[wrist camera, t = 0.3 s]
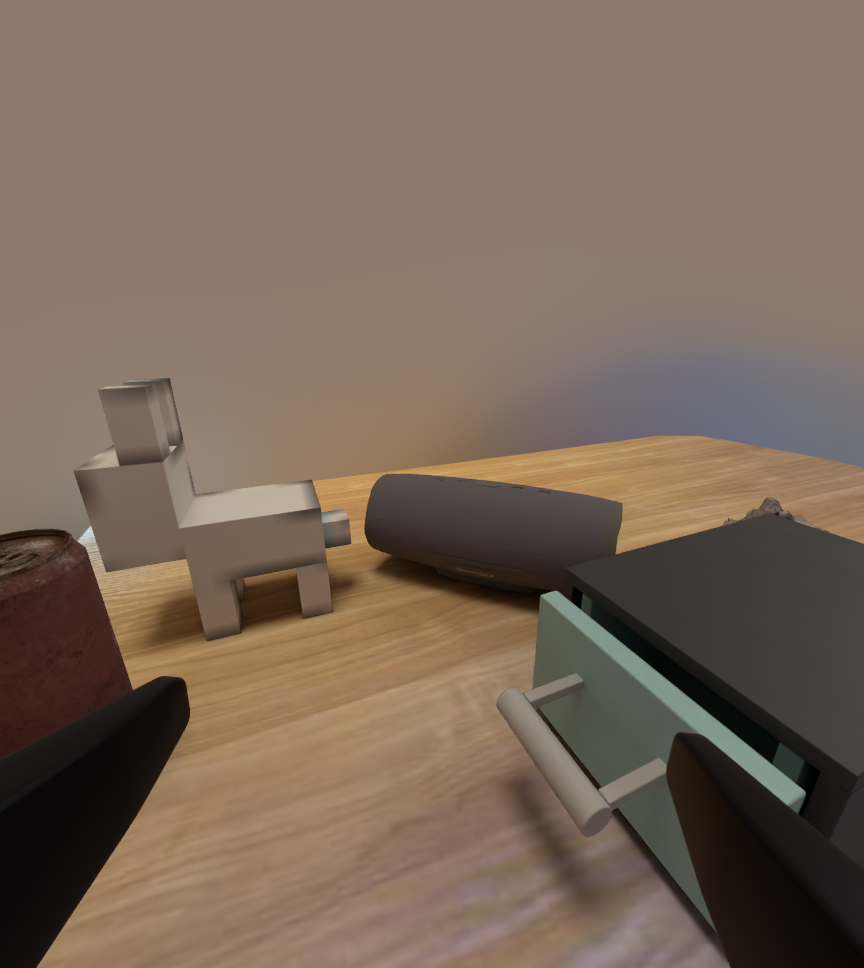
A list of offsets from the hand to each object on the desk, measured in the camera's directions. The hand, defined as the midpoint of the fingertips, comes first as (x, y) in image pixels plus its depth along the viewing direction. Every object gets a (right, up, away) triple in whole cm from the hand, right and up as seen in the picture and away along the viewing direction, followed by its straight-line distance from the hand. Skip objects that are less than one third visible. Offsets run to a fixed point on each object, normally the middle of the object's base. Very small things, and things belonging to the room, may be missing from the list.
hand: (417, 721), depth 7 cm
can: (-19, -12, +15) cm, 27 cm away
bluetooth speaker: (+6, -5, +34) cm, 35 cm away
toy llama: (-16, -7, +30) cm, 35 cm away
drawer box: (+20, -10, +18) cm, 29 cm away
